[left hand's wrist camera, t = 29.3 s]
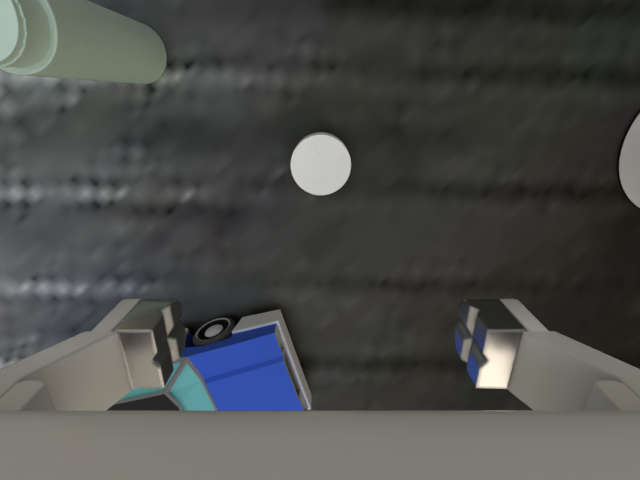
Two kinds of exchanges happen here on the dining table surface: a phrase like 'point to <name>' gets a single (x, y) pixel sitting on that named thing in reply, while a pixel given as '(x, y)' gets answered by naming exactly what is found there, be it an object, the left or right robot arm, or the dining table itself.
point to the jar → (77, 42)
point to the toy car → (230, 371)
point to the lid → (320, 163)
